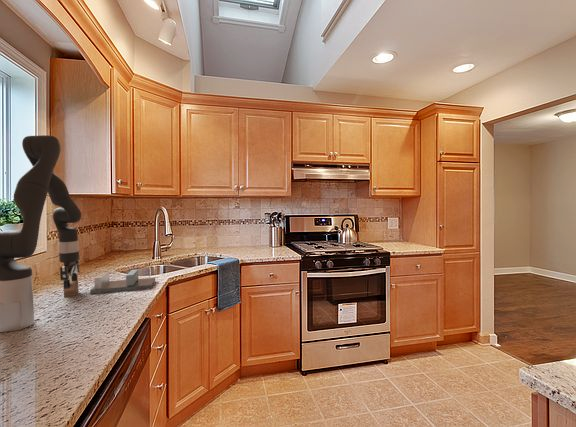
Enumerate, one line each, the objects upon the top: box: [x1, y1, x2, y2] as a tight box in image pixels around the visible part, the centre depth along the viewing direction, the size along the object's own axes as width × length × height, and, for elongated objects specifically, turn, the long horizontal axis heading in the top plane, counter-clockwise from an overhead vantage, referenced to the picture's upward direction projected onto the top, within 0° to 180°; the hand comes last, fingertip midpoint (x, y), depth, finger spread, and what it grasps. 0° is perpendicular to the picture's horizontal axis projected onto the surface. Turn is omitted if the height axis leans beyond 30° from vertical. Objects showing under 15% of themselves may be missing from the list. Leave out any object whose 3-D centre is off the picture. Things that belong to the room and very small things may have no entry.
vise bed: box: [90, 271, 156, 295], centre depth 151 cm, size 14×26×7 cm, turn 106°
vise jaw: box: [125, 269, 139, 286], centre depth 152 cm, size 12×3×5 cm, turn 16°
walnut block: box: [62, 280, 80, 298], centre depth 139 cm, size 5×4×6 cm
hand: (71, 285), depth 140 cm, fingers open, 8 cm apart
